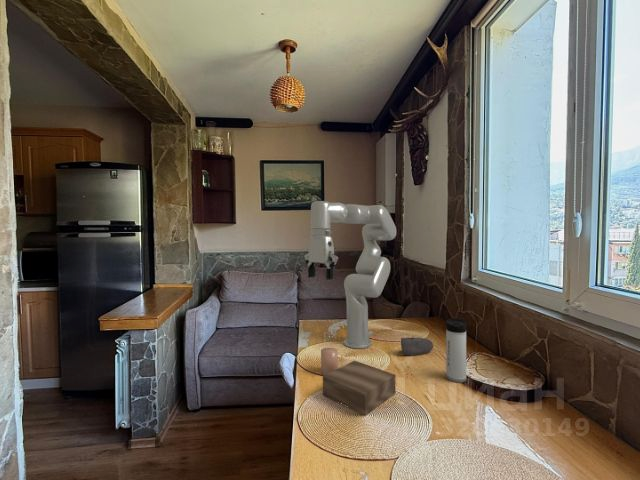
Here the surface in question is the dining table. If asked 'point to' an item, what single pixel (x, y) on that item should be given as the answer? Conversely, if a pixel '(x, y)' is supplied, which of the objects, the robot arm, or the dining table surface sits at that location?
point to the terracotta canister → (329, 360)
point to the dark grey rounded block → (415, 346)
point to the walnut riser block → (359, 386)
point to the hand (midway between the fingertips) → (320, 278)
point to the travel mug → (456, 350)
